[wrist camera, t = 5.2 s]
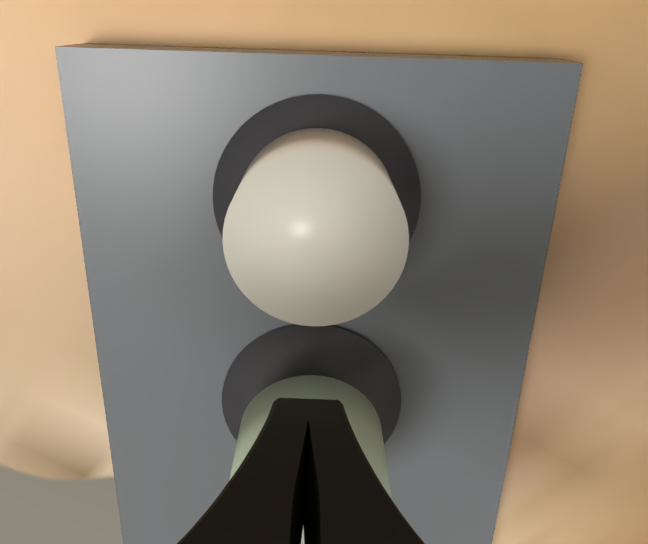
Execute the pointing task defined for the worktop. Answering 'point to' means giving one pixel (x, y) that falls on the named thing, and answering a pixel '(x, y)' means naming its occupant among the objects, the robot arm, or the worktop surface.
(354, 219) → the button cream
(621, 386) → the worktop surface
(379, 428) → the button sage
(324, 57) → the panel
